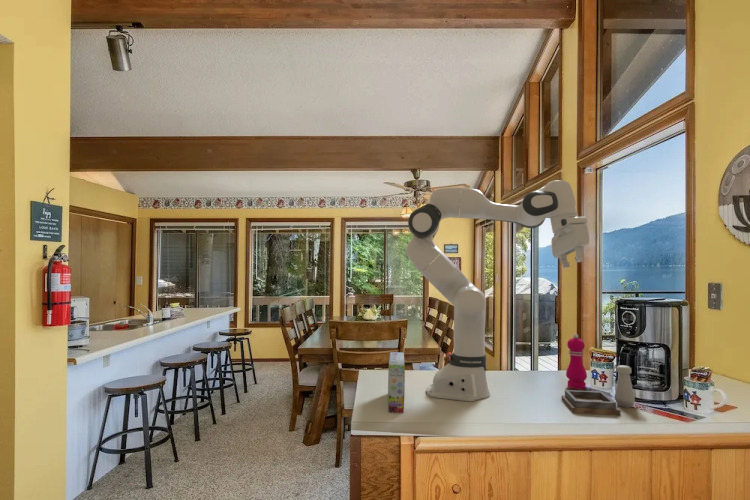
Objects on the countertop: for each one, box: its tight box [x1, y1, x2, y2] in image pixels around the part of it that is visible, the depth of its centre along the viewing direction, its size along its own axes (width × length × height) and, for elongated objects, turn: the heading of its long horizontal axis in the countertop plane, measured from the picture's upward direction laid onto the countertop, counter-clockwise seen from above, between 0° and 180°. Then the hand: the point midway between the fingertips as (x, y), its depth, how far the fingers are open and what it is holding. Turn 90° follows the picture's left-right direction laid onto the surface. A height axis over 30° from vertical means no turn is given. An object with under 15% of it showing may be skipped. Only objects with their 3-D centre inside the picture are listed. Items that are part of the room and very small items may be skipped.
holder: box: [561, 389, 622, 416], centre depth 139 cm, size 14×13×4 cm
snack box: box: [387, 351, 406, 414], centre depth 145 cm, size 21×6×15 cm, turn 177°
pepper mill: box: [565, 333, 588, 390], centre depth 163 cm, size 7×7×20 cm
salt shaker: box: [614, 364, 636, 409], centre depth 141 cm, size 6×6×13 cm
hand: (572, 264), depth 143 cm, fingers open, 8 cm apart
